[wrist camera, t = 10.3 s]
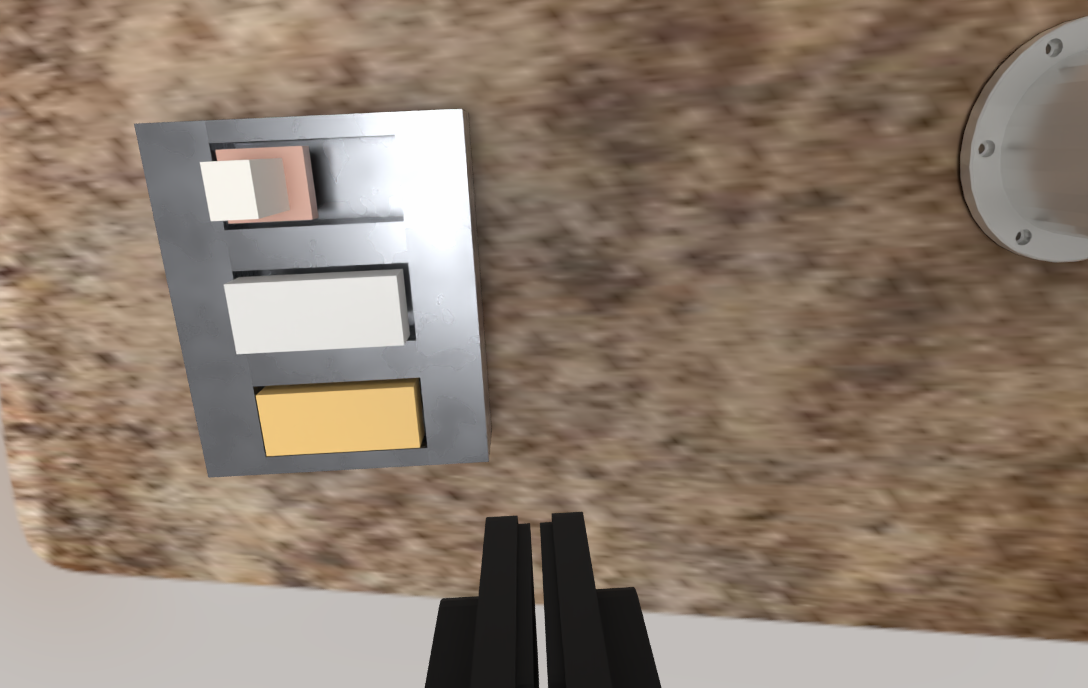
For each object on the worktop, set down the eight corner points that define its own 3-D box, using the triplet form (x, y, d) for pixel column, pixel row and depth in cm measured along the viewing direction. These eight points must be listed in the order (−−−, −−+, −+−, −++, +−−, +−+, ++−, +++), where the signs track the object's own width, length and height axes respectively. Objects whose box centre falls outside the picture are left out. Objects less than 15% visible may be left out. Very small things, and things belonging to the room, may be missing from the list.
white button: (402, 268, 33) (396, 275, 31) (409, 335, 34) (404, 345, 32) (239, 277, 33) (223, 284, 31) (251, 343, 34) (236, 354, 32)
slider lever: (308, 145, 32) (271, 145, 27) (318, 217, 33) (284, 229, 28) (224, 149, 32) (172, 150, 27) (237, 221, 33) (189, 234, 28)
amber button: (418, 375, 36) (413, 386, 34) (424, 433, 37) (420, 447, 35) (268, 383, 36) (255, 395, 34) (278, 441, 37) (266, 456, 35)
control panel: (468, 112, 35) (462, 108, 31) (491, 431, 40) (488, 461, 36) (177, 126, 34) (134, 123, 31) (238, 445, 40) (208, 477, 36)
